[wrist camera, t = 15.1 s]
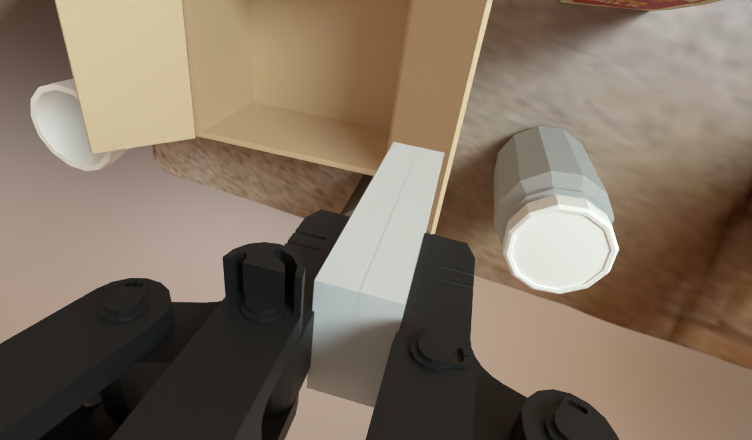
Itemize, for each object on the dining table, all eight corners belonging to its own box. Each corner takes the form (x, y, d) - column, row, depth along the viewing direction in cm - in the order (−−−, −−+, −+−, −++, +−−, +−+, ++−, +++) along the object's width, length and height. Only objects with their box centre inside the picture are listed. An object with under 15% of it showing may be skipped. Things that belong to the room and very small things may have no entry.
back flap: (25, -125, 27) (24, -125, 27) (92, 153, 37) (91, 152, 37) (172, -98, 32) (170, -98, 32) (195, 138, 42) (193, 136, 42)
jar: (518, 109, 46) (531, 177, 31) (604, 142, 46) (660, 227, 30) (479, 184, 51) (474, 274, 36) (556, 214, 51) (583, 318, 36)
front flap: (430, 234, 33) (435, 233, 33) (500, -54, 23) (506, -53, 23) (384, 181, 40) (388, 180, 40) (423, -61, 30) (428, -60, 30)
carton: (444, -52, 40) (428, -60, 30) (409, 137, 50) (388, 179, 40) (248, -82, 43) (172, -98, 33) (252, 104, 53) (195, 135, 43)
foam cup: (167, 54, 52) (81, 77, 41) (197, 127, 56) (126, 165, 45) (108, 68, 55) (13, 93, 44) (141, 136, 59) (62, 174, 48)
